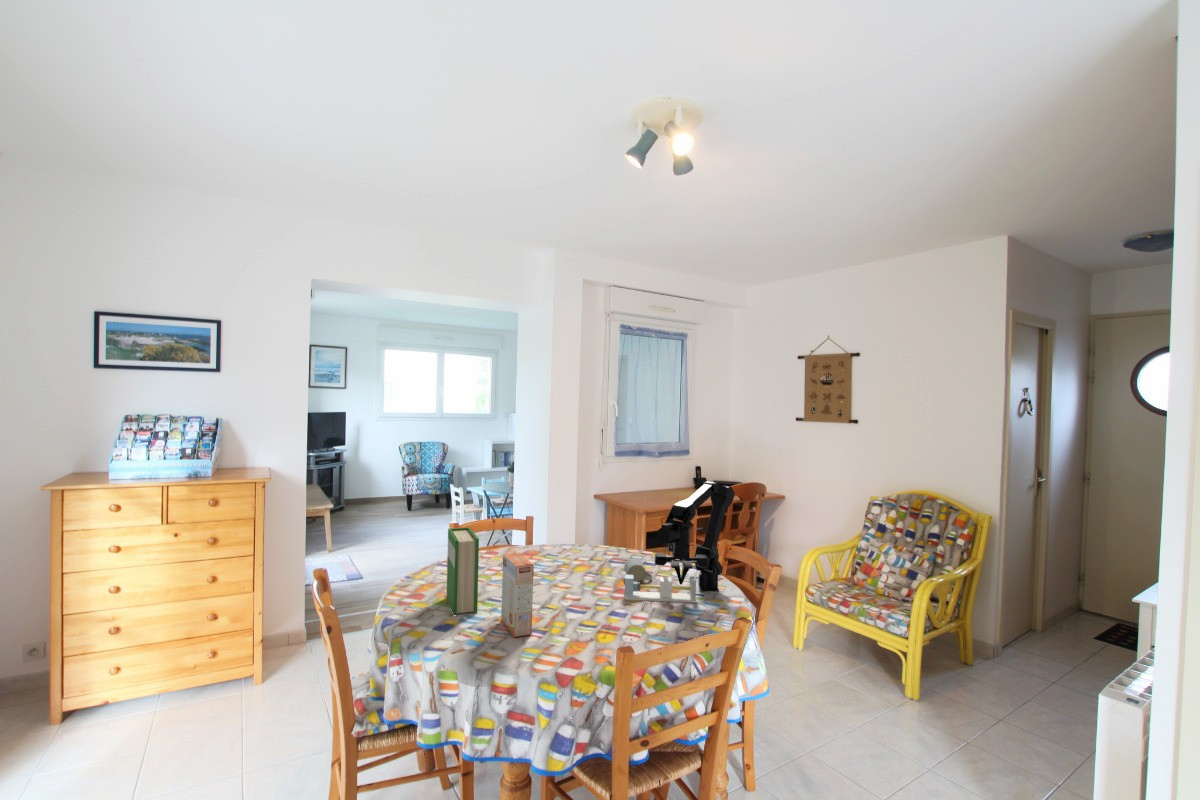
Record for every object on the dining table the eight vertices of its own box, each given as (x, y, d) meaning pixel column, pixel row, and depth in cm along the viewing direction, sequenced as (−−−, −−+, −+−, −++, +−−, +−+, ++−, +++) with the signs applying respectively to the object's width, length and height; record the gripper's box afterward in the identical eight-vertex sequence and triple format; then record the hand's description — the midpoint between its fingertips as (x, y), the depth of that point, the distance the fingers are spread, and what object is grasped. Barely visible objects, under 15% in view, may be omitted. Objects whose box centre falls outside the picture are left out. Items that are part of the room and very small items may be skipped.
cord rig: (694, 595, 195) (694, 574, 195) (696, 602, 188) (696, 581, 188) (624, 592, 196) (625, 572, 196) (624, 599, 189) (624, 578, 189)
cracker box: (533, 635, 158) (534, 563, 159) (513, 638, 156) (514, 566, 156) (519, 617, 171) (520, 551, 171) (500, 620, 169) (502, 553, 169)
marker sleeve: (670, 592, 194) (670, 577, 194) (671, 597, 189) (672, 581, 189) (659, 592, 195) (659, 576, 195) (660, 596, 190) (660, 581, 190)
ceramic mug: (627, 583, 206) (628, 563, 207) (623, 576, 215) (624, 557, 215) (654, 583, 208) (655, 563, 208) (649, 576, 216) (650, 557, 216)
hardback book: (477, 613, 174) (478, 538, 174) (453, 616, 171) (455, 540, 171) (468, 595, 190) (469, 527, 191) (446, 597, 187) (448, 528, 188)
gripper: (704, 535, 199) (704, 578, 199) (654, 533, 200) (653, 576, 200) (709, 543, 188) (708, 588, 188) (655, 541, 189) (654, 586, 189)
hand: (680, 584), depth 192 cm, fingers closed
